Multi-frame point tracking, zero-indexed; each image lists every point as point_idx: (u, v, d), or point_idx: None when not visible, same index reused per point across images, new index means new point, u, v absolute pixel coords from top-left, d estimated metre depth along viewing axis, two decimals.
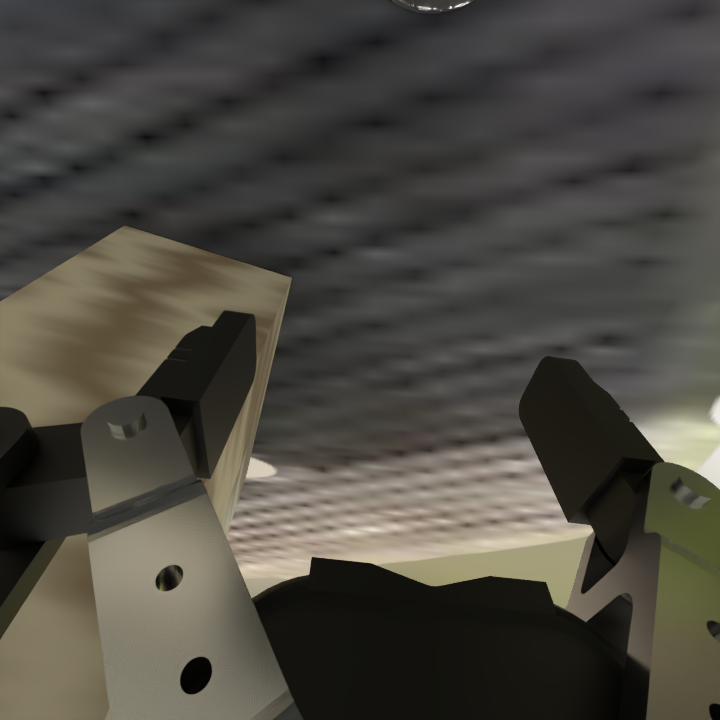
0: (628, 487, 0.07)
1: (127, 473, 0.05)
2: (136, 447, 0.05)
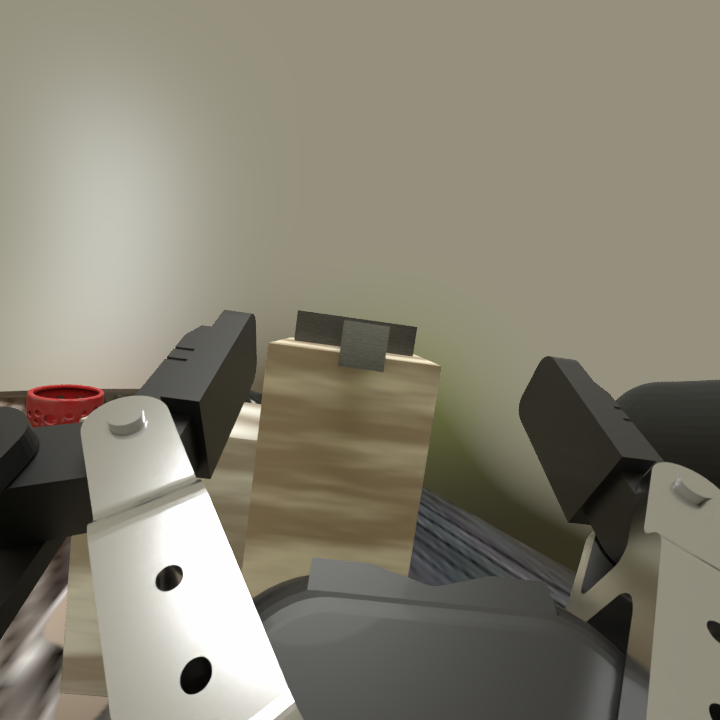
0: (628, 487, 0.07)
1: (127, 473, 0.05)
2: (135, 447, 0.05)
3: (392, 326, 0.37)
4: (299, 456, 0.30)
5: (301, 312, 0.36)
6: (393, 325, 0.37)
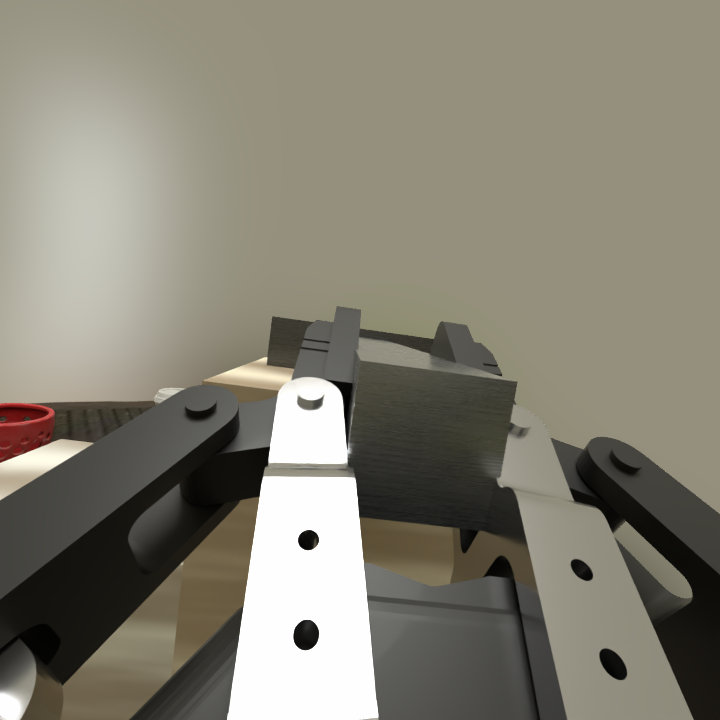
0: None
1: (333, 439, 0.06)
2: (311, 421, 0.06)
3: (424, 342, 0.23)
4: None
5: (277, 319, 0.22)
6: (426, 340, 0.23)
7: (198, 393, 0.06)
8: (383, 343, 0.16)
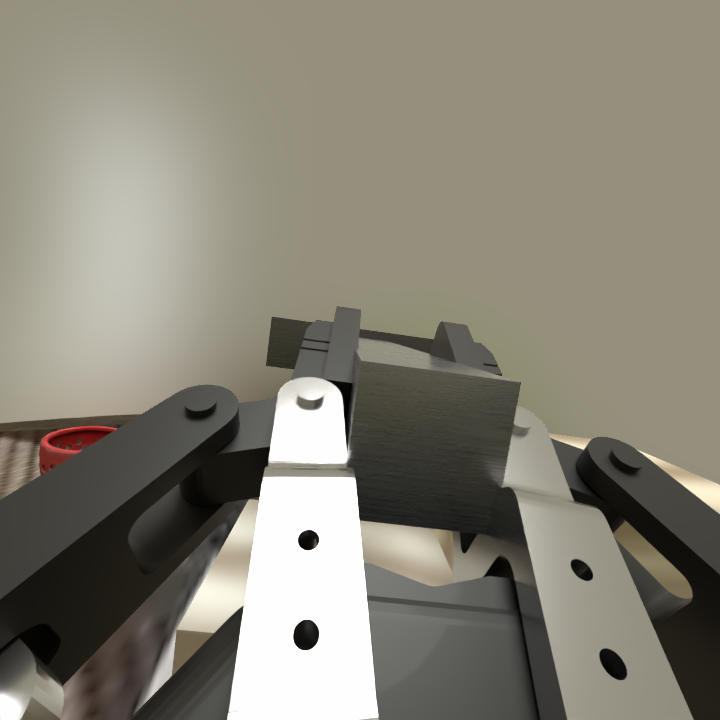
0: None
1: (333, 439, 0.06)
2: (310, 421, 0.06)
3: (425, 342, 0.23)
4: None
5: (277, 320, 0.22)
6: (427, 341, 0.23)
7: (198, 394, 0.06)
8: (383, 343, 0.16)
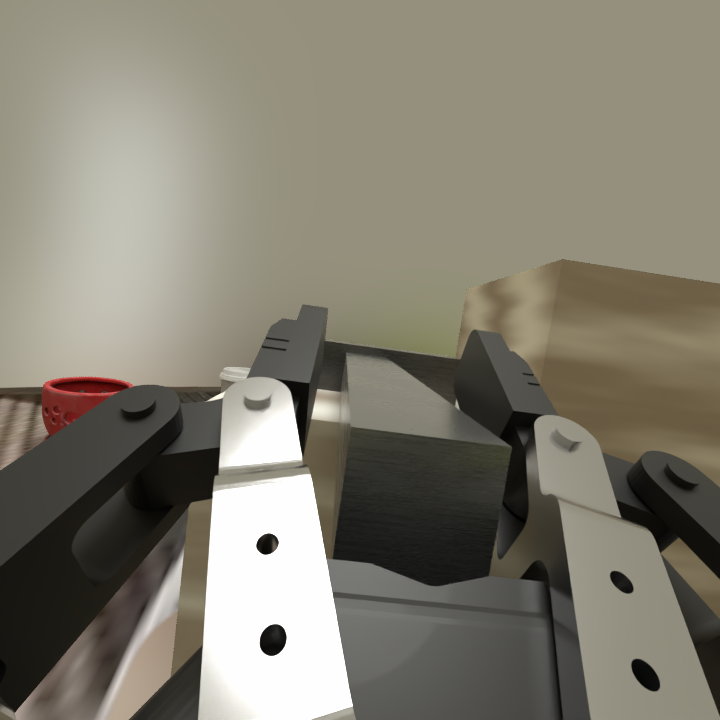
0: (519, 438, 0.08)
1: (275, 440, 0.06)
2: (260, 421, 0.06)
3: (422, 358, 0.23)
4: None
5: None
6: (424, 357, 0.23)
7: (135, 395, 0.06)
8: (380, 366, 0.16)
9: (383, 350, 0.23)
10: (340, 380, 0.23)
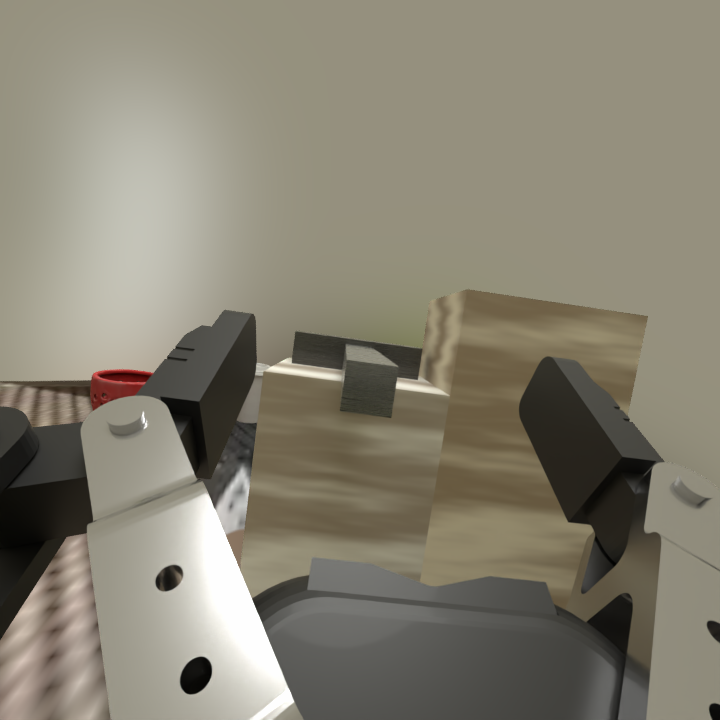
0: (628, 487, 0.07)
1: (127, 473, 0.05)
2: (135, 447, 0.05)
3: (396, 348, 0.34)
4: (493, 413, 0.28)
5: (299, 333, 0.34)
6: (397, 347, 0.34)
7: None
8: (365, 350, 0.28)
9: (370, 342, 0.34)
10: (342, 362, 0.34)
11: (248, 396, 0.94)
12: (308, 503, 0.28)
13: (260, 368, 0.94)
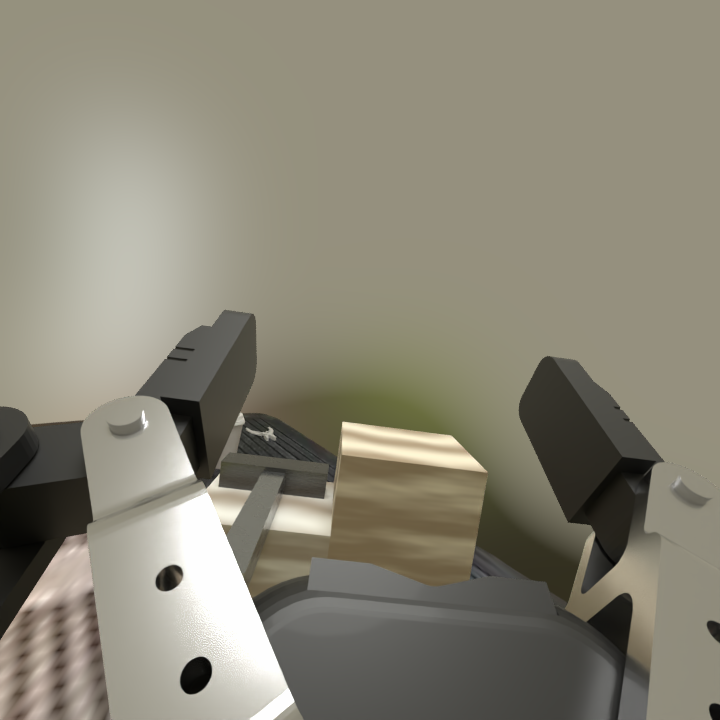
0: (628, 487, 0.07)
1: (127, 473, 0.05)
2: (136, 447, 0.05)
3: (305, 473, 0.42)
4: (365, 549, 0.35)
5: (224, 463, 0.41)
6: (306, 472, 0.42)
7: None
8: (263, 499, 0.35)
9: (283, 469, 0.41)
10: None
11: None
12: None
13: None
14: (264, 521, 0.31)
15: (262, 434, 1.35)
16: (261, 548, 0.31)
